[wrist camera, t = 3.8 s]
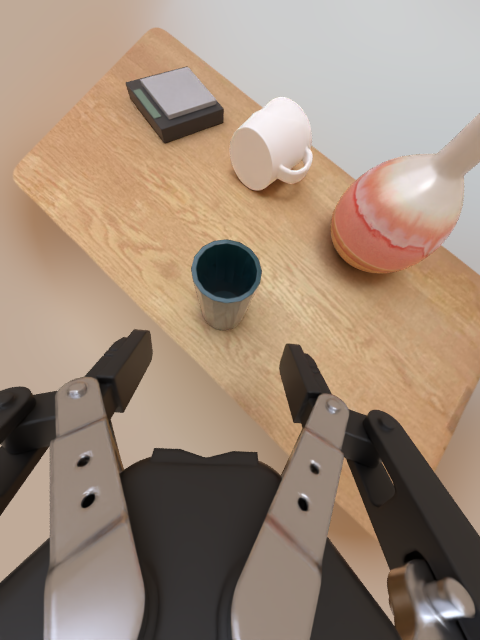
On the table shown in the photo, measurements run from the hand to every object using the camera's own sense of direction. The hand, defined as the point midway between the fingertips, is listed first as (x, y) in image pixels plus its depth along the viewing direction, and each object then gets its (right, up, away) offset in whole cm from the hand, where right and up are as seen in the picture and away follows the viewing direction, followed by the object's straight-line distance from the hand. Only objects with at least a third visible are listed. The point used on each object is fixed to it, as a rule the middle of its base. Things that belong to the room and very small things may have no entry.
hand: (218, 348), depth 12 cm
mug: (+6, +27, +22) cm, 35 cm away
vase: (+20, +13, +20) cm, 32 cm away
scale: (-10, +40, +24) cm, 47 cm away
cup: (-1, +3, +15) cm, 15 cm away
